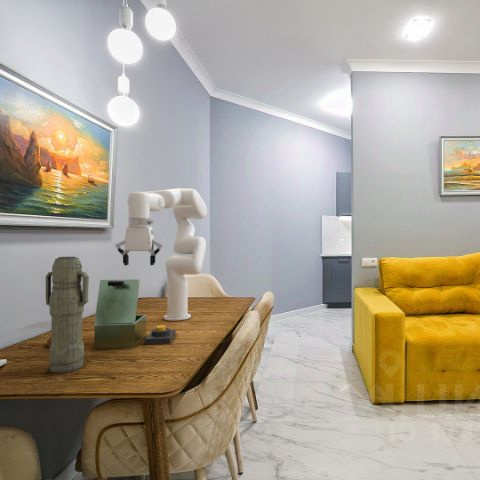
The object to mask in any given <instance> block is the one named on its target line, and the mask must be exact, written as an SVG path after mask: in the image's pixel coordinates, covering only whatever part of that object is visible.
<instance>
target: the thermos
mask: <svg viewBox="0 0 480 480" xmlns="http://www.w3.org/2000/svg"><path fill="white" fill-rule="evenodd" d="M89 280H90V276H89V274H87V272H86V271H83V265H82V263H81V260H80V258H79V257H77V256H58V257H57V258H55V259H54V261H53V264H52V267H51V271H49V272H47V274H46V275H45V304H46V306H48V308H49V315H50V319H51V324H50V325H51V326H50V327H51V328H50V329H51V336H50V337H51V347H49V348H48V363H49V372H50V373H54V374H61V373H62V374H63V373H69V372H73V371H76V370H79V369H81V368H82V367H84V358H85V342H84V341H83V313H84V311H85V305H87V303H88V302H89Z"/></svg>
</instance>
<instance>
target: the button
mask: <svg viewBox="0 0 480 480" xmlns="http://www.w3.org/2000/svg"><path fill="white" fill-rule="evenodd" d="M166 328H167V325H164V324H161V325H157V326H155V329H156V331H165V330H166Z"/></svg>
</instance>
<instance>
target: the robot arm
mask: <svg viewBox="0 0 480 480" xmlns="http://www.w3.org/2000/svg"><path fill="white" fill-rule="evenodd" d="M127 207H128V225H127V226H126V229H125V233H124V239H123V241H120V242H118V243H116V244H115V245H114V246H115V248H116V250H117V251H118V253H119V254H121V256H122V264H123V266H129V265H130V263H129V262H130V261H129V259H130V258H129V257H130V256H129V255H128V254H129V253H130V252H148V253H149V254H150V256H149V265H150V266H154V265H155V264H156V256H157V254H158V253H159V252H160V251H161V250H162V248H163V244H162V243H160V242H158V241H156V240H154V239H155V238H154V231H153V226H151V225H153V224H154V220H152V219H151V218H150V212H160V211H162V210H163V209H171V208H172V212H173V215H174V219H175V222H176V225H177V230H176V235H175V238H174V243H173V251H174V253H175V254H174V255H169V256H168V257H167V258H166V260H165V271H166V277H167V297H166V298H167V305H166V306H167V308H166V309H167V310H166V314H165V315H163V319H164V320H165V321H167V322H170V321H171V322H177V321H185V320H188V319H189V320H190V319H191V317H192V315H191V313H188V312H189V311H188V309H189V307H188V306H189V282H188V279H187V278H186V275H189V276H190V275H195V276H197V275H200V273H201V272H202V269H203V266H204V261H205V257H206V251H207V241H206V238H204V237H202V236H200V235H199V236H198V235H195V232H196V228H195V226H194V224H193V223H192V221H190V220H193V219H194V220H201V219H202V220H203V219H204V218H206V217H207V214H208V208H207V205H206V203H205V202H204V199H203V198H202V196H201V194H200V193H199V192H198V190H196V189H194V188H182V187H181V188H179V187H178V188H169V189H159V190H151V191H130V192H129V193H128V198H127ZM122 246H124V249H123V248H122ZM155 246H156V249H155Z"/></svg>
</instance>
